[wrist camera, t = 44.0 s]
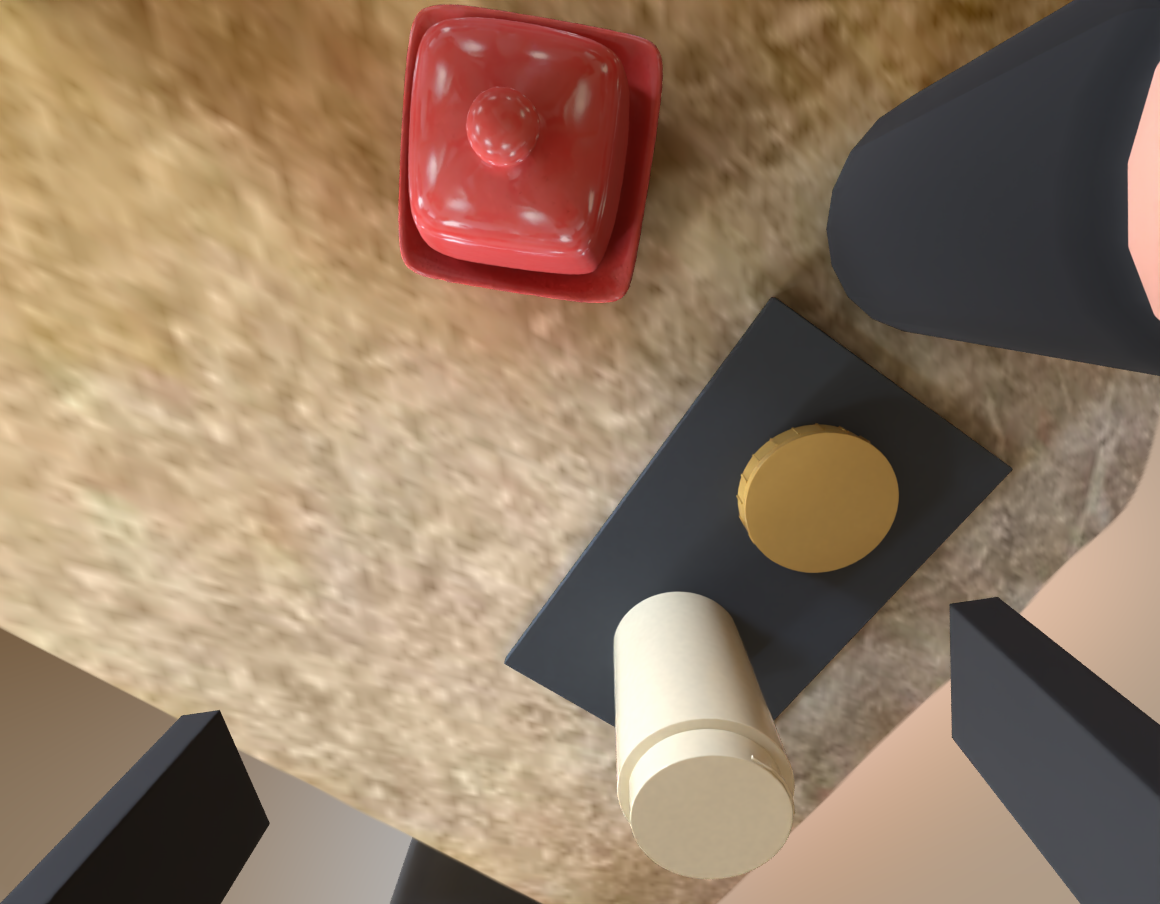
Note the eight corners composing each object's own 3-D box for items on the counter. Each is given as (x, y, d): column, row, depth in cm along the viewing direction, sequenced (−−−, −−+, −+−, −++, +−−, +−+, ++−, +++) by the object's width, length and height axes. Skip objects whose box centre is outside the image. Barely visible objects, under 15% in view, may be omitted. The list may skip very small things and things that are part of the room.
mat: (712, 776, 38) (713, 784, 37) (505, 657, 36) (503, 664, 35) (1006, 465, 31) (1014, 469, 30) (771, 296, 29) (774, 296, 28)
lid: (880, 410, 30) (896, 418, 28) (887, 546, 32) (902, 561, 30) (728, 438, 30) (735, 447, 29) (745, 568, 32) (752, 584, 31)
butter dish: (670, 49, 26) (701, -58, 18) (626, 308, 29) (636, 320, 21) (418, 9, 26) (333, -116, 18) (404, 274, 29) (326, 272, 21)
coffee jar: (945, 369, 29) (1426, 497, 12) (772, 262, 28) (1037, 236, 11) (1098, 170, 27) (2010, -30, 9) (913, 41, 25) (1568, -460, 8)
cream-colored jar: (690, 720, 36) (728, 914, 25) (588, 660, 35) (582, 836, 24) (767, 633, 34) (845, 803, 23) (661, 568, 33) (691, 713, 22)
